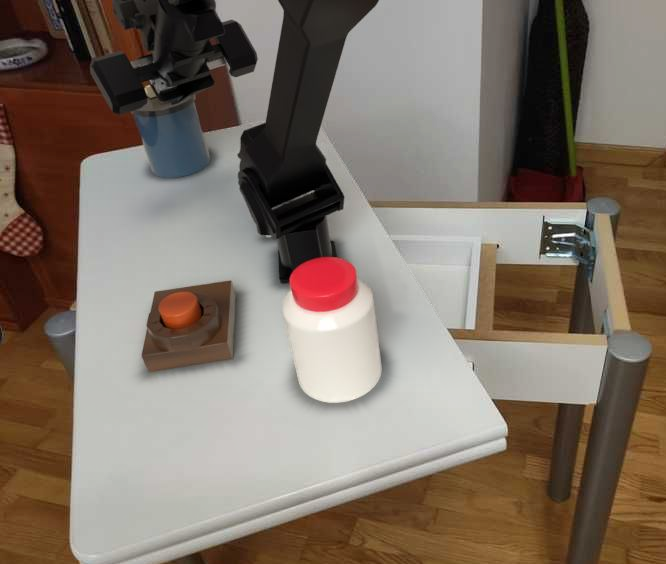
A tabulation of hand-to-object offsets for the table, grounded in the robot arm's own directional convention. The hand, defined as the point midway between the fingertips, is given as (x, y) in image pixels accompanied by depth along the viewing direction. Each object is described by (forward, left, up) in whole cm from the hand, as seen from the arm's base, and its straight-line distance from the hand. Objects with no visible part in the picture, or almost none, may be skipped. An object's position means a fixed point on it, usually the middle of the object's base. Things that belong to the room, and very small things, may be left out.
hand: (172, 101), depth 85 cm
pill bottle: (-44, -17, -11) cm, 48 cm away
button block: (-35, -3, -11) cm, 37 cm away
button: (-37, -3, -7) cm, 38 cm away
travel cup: (+4, +2, -11) cm, 11 cm away
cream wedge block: (+6, +3, -1) cm, 7 cm away
